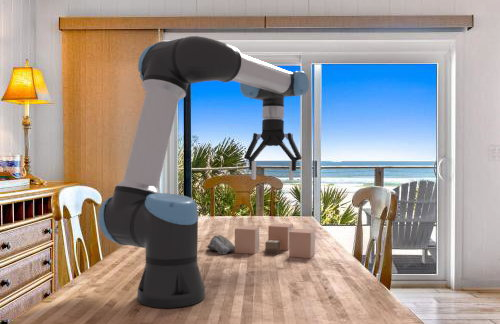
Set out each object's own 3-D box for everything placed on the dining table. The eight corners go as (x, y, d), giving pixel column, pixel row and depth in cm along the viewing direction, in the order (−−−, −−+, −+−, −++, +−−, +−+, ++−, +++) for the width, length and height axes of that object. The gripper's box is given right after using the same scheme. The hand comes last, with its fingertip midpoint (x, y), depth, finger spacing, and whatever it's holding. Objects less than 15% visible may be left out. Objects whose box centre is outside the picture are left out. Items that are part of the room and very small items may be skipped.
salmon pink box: (310, 258, 150) (310, 233, 150) (289, 256, 152) (289, 231, 152) (314, 253, 156) (314, 229, 156) (294, 252, 159) (294, 228, 158)
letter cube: (276, 255, 155) (277, 242, 155) (265, 254, 156) (265, 241, 156) (280, 252, 158) (280, 240, 158) (268, 251, 160) (269, 239, 160)
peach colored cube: (254, 253, 156) (255, 229, 156) (234, 252, 158) (234, 228, 158) (259, 249, 163) (259, 226, 163) (239, 248, 164) (239, 225, 164)
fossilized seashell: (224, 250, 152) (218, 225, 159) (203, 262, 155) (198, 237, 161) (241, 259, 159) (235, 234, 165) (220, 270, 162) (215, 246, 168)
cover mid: (292, 246, 169) (292, 224, 169) (287, 250, 162) (287, 227, 162) (273, 245, 171) (273, 223, 171) (268, 248, 165) (268, 226, 164)
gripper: (310, 119, 164) (309, 180, 164) (243, 120, 172) (242, 178, 172) (305, 117, 156) (304, 181, 156) (235, 118, 165) (235, 179, 165)
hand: (272, 180), depth 164 cm, fingers open, 13 cm apart
